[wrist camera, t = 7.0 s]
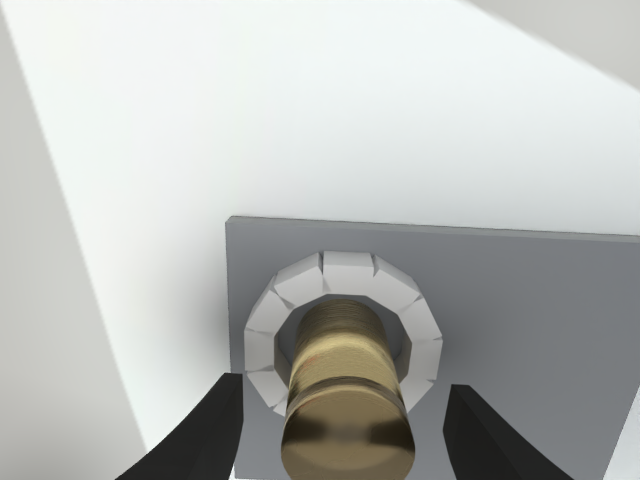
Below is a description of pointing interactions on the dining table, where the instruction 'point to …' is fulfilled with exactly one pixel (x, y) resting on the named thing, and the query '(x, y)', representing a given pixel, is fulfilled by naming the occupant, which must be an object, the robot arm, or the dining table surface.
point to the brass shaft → (345, 399)
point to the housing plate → (446, 329)
